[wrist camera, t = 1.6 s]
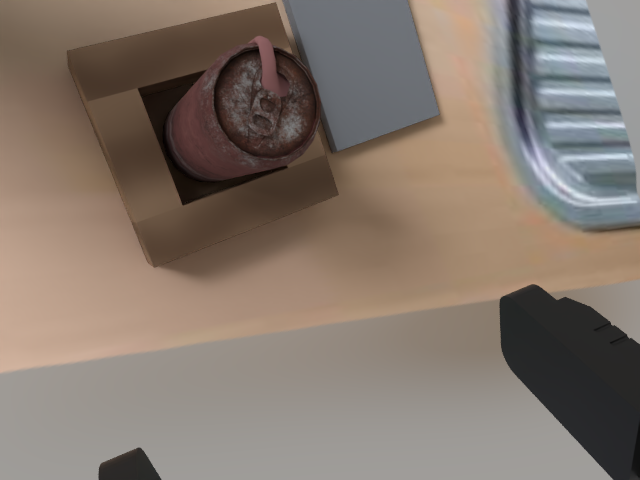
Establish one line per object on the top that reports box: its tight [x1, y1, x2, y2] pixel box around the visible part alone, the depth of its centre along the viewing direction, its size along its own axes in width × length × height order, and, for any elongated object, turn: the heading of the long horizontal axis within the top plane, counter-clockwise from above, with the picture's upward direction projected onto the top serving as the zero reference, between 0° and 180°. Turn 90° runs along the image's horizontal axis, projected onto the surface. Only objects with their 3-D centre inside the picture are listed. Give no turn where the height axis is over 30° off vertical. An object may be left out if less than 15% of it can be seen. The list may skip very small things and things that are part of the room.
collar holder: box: [67, 2, 339, 267], centre depth 37 cm, size 14×14×4 cm
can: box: [163, 36, 321, 182], centre depth 32 cm, size 6×6×14 cm
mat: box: [282, 0, 440, 153], centre depth 43 cm, size 14×10×1 cm
